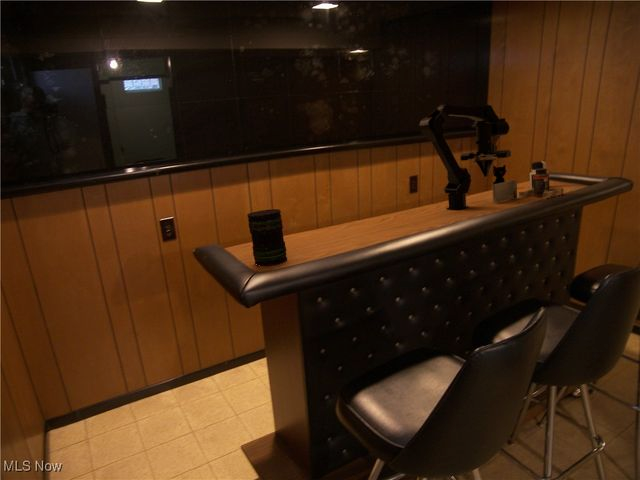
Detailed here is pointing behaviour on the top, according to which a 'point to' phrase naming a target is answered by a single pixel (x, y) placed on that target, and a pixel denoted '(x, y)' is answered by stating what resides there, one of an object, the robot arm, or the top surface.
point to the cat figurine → (499, 174)
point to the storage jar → (267, 237)
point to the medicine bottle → (535, 166)
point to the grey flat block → (504, 191)
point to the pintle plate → (515, 199)
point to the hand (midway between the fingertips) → (485, 176)
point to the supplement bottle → (541, 182)
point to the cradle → (545, 195)
